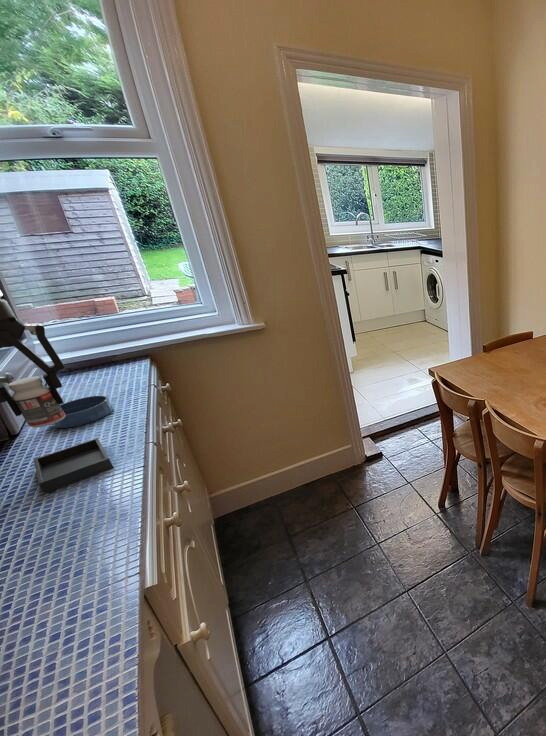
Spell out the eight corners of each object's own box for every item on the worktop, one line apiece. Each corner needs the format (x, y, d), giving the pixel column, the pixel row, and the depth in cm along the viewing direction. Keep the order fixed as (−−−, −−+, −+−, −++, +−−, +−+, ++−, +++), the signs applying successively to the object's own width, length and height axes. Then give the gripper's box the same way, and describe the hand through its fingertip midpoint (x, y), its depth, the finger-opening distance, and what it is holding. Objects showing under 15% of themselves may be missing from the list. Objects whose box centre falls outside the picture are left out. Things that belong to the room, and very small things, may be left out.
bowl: (55, 433, 111) (47, 421, 109) (52, 420, 119) (44, 408, 117) (116, 415, 120) (110, 402, 118) (109, 403, 128) (103, 391, 126)
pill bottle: (62, 422, 89) (38, 381, 85) (26, 431, 87) (-2, 389, 82) (69, 413, 94) (46, 373, 90) (34, 421, 91) (9, 380, 87)
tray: (39, 468, 96) (33, 459, 95) (102, 446, 104) (97, 437, 102) (45, 493, 87) (38, 483, 86) (113, 467, 94) (108, 458, 93)
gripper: (-109, 316, 70) (-27, 431, 80) (46, 294, 83) (100, 396, 93) (-102, 310, 75) (-26, 420, 85) (43, 290, 88) (95, 388, 97)
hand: (40, 407), depth 89 cm, fingers closed on pill bottle, 6 cm apart
